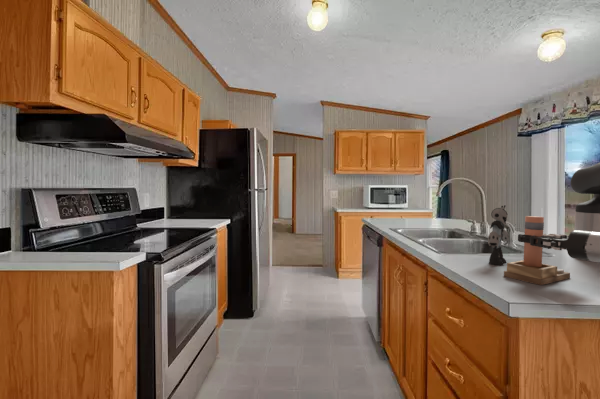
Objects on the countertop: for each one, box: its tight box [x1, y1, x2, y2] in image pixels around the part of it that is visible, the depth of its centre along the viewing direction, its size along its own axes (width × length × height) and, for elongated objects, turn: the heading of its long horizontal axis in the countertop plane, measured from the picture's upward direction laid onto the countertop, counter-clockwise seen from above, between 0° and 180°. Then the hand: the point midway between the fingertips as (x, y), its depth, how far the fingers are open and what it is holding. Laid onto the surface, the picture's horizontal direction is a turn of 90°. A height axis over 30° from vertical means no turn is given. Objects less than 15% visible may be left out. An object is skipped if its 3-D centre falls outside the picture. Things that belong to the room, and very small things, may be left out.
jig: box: [503, 259, 571, 286], centre depth 102 cm, size 16×10×4 cm, turn 119°
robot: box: [487, 205, 510, 267], centre depth 119 cm, size 20×5×20 cm, turn 139°
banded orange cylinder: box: [523, 215, 545, 267], centre depth 100 cm, size 4×4×14 cm
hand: (523, 237), depth 102 cm, fingers closed on banded orange cylinder, 4 cm apart
